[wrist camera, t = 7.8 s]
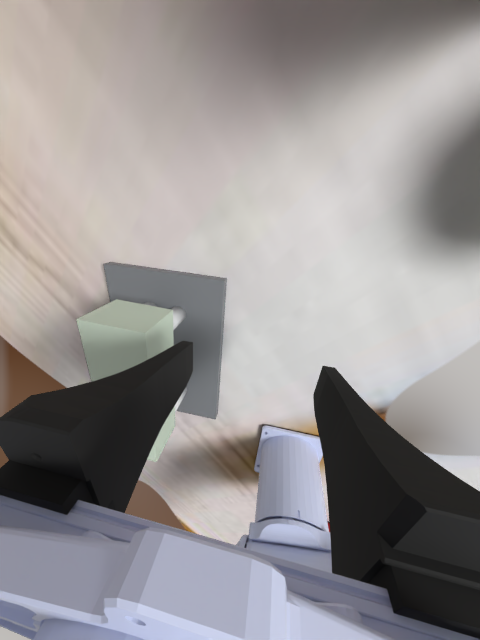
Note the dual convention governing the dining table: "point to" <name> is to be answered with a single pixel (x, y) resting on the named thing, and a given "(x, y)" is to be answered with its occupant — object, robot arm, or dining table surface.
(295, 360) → the dining table surface
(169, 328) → the pale green block
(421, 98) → the dining table surface
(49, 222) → the dining table surface
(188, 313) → the peg stand
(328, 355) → the dining table surface
